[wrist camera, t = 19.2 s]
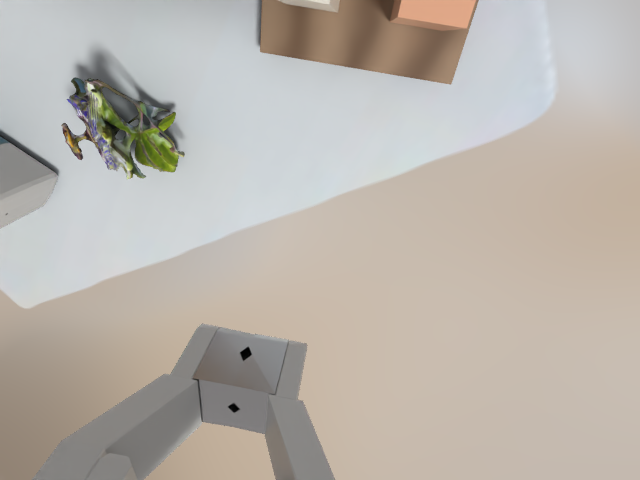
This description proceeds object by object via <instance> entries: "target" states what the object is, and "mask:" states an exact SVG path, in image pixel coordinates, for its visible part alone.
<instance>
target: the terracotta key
mask: <svg viewBox="0 0 640 480" xmlns="http://www.w3.org/2000/svg"><path fill="white" fill-rule="evenodd" d="M475 2H476V0H394V4H393V9H392V14H391V18H390V22H391V23H397V24H403V25H409V26H415V27H421V28H427V29H433V30H439V31H446V30H457V29H467V27H468V24H469V20H470V17H471V14H472V11H473V8H474V5H475Z"/></svg>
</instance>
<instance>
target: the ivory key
mask: <svg viewBox="0 0 640 480" xmlns="http://www.w3.org/2000/svg"><path fill="white" fill-rule="evenodd" d="M278 1H281V2H283V3H285V4H289V5H295V6H301V7H307V8H313V9H319V10H325V11H331V12H337V13H338V10H339V2H340V0H278Z"/></svg>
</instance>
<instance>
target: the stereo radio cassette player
mask: <svg viewBox="0 0 640 480" xmlns="http://www.w3.org/2000/svg"><path fill="white" fill-rule="evenodd" d="M57 179H58V175H57V174H56V173H55V172H53V171H52V170H50V169H49V168H47V167H46V166H44V165H43V164H41V163H40V162H38V161H37V160H35V159H34V158H32V157H31V156H29V155H28V154H26V153H25V152H23V151H22V150H20V149H19V148H17V147H16V146H14V145H13V144H11V143H10V142H8V141H7V140H5V139H4V138H2V137H0V228H2V227H4V226H6V225H8V224H10V223H12V222H14V221H16V220H18V219H20V218H21V217H23V216H25V215H27V214H29V213H31V212H33V211H35V210H37V209H39V208H41V207H43V206H44V205H45V203H46V202H47V200H48V199H49V197H50V195H51V193H52V191H53V189H54V187H55V185H56V182H57Z"/></svg>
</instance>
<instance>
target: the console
mask: <svg viewBox="0 0 640 480" xmlns="http://www.w3.org/2000/svg"><path fill="white" fill-rule="evenodd" d="M477 3H478V0H476V2H475V5H474V8H473V11H472V14H471V17H470V20H469V24H468V27H467V29H457V30H446V31H439V30H433V29H427V28H421V27H415V26H409V25H403V24H397V23H391V22H390V18H391V14H392V9H393V4H394V0H340V2H339V10H338V13H337V12H331V11H325V10H319V9H313V8H307V7H301V6H295V5H289V4H285V3H283V2H281V1H278V0H262V14H261V42H260V52H263V53H269V54H275V55H281V56H287V57H292V58H298V59H304V60H310V61H316V62H322V63H328V64H334V65H339V66H345V67H351V68H357V69H363V70H369V71H375V72H381V73H386V74H392V75H398V76H404V77H410V78H416V79H422V80H428V81H433V82H439V83H445V84H451V83H452V80H453V77H454V74H455V71H456V68H457V65H458V62H459V59H460V55H461V52H462V49H463V46H464V43H465V40H466V37H467V34H468V31H469V28H470V25H471V22H472V19H473V16H474V13H475V10H476V7H477Z"/></svg>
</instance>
